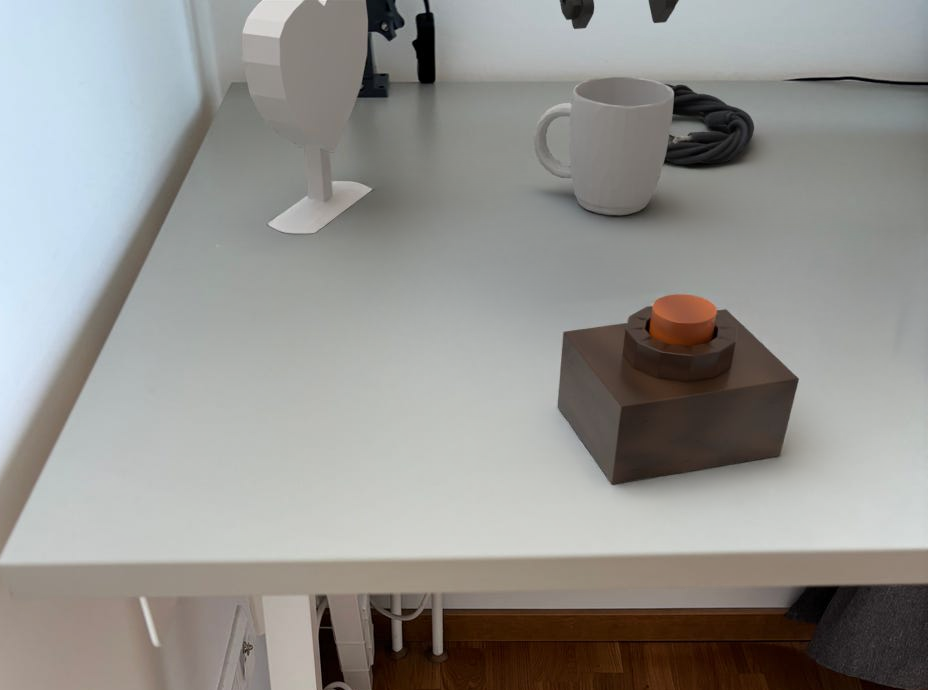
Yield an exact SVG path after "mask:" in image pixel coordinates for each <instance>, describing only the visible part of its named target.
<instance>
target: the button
mask: <svg viewBox="0 0 928 690" xmlns="http://www.w3.org/2000/svg"><path fill="white" fill-rule="evenodd" d="M651 306H652V314H651V321H650V328H649V333H650V335H651V337H652V338H655V339H657V340H660V341H662V342H665V343H667V344H673V345H682V346H693V345H700V344H707V343H708V342H710V341H711V340H712V337H713V332H714V327H715V321H716V315H717V310H718V309H717V307H716V305H715V304H714V303H713V302H711V301H709V300H708V299H706V298H703V297H701V296H698V295H692V294H685V293H682V294H681V293H675V294H674V293H673V294H668V295H664V296H661V297H659V298H657V299H656V300H655V301H654V302H653V304H652V305H651Z"/></svg>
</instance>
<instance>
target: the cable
mask: <svg viewBox="0 0 928 690" xmlns="http://www.w3.org/2000/svg"><path fill="white" fill-rule="evenodd" d="M664 84H665V85H667V86H669V87H671V88H672V90H673V91H674V102H673V115H674V116H681V117H686V118H687V117H689V118H701V119H702V120H703V121H704V124H706V125H707V126H708V127H710V128H711V127H712V128H713V127H720V126H726V127H727V132H728V133H723V132H722V131H717V130H712V131H704V130H703V131H692V132H691V131H690V132H689V133H688V134H687V135H676V136H674V135H672V134H669V140H668V145H667V151H666V156H665V159H664V160H666V161H667V162H669V163H672V164H675V165H676V164H677V165H691V164H696V163H699V162H700V163H704V164H721V163H725V162H728V161H729V160H732V159H733V158H735V157H736V156H737V155H738V154H740V153H741V152H742V151H743V149H744V148H746V146H748V144H749V143H750V142H751V140H752V138H753V136H754V132H755V123H754V120H753V119H752V117H751V116H750V114H749V113H748V112H747V111H745V110H743V109H741V108H739V107H735V106H732V105H729V104H727V103H725V102H724V101H723V100H722V99H721V98H718V97H716V96H714V95H711V94H705V93H698V92H695V91H694V90H693V89H692V88H690V87H689V86H687V85H685V84H677V85H676V84H675V85H672V84H669V83H664ZM673 115H672V116H673Z"/></svg>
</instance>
